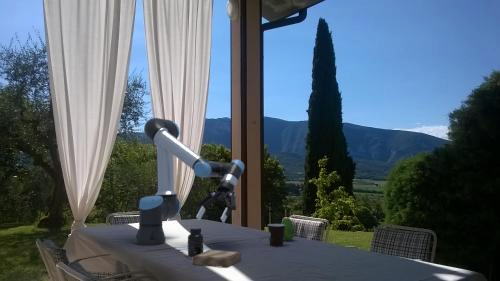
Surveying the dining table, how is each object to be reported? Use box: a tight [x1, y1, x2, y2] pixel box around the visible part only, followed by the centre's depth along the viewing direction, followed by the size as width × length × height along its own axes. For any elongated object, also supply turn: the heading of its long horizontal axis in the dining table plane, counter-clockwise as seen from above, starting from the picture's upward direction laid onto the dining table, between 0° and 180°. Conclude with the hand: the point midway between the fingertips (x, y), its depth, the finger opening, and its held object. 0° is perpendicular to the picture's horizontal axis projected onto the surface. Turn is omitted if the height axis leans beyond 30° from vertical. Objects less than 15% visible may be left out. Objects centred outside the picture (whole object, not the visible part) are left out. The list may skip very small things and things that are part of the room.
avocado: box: [281, 217, 296, 242], centre depth 232 cm, size 8×8×12 cm
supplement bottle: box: [187, 227, 204, 258], centre depth 192 cm, size 7×7×12 cm
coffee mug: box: [267, 223, 285, 247], centre depth 220 cm, size 12×9×10 cm
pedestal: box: [192, 249, 242, 268], centre depth 179 cm, size 15×15×3 cm
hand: (209, 219), depth 201 cm, fingers open, 13 cm apart
